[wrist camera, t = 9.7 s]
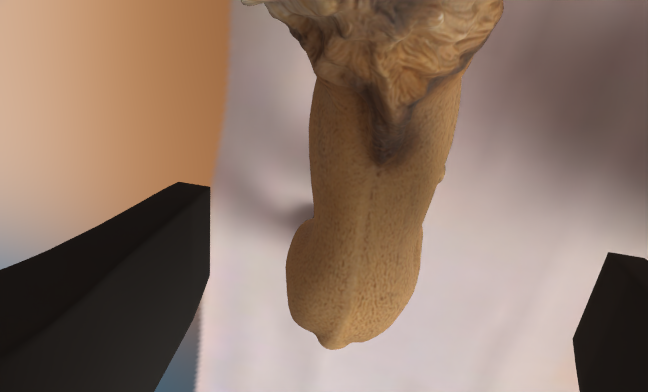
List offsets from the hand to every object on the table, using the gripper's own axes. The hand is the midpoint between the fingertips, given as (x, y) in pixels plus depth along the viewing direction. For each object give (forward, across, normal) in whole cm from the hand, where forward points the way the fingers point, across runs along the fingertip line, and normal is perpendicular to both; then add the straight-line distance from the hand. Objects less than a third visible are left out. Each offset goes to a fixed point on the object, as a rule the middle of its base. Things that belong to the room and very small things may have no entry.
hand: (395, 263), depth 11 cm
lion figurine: (+8, +1, -1) cm, 8 cm away
